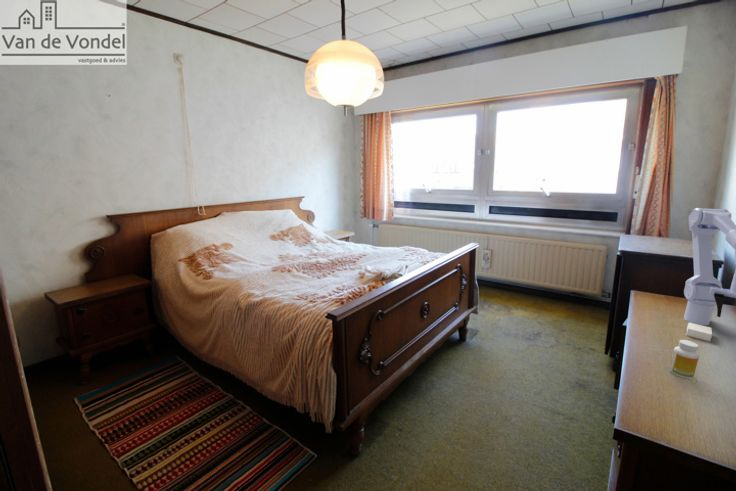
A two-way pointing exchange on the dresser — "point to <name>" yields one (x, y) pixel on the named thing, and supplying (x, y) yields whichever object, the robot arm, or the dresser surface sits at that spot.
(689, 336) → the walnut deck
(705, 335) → the cream tile
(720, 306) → the robot arm
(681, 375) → the supplement bottle
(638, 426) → the dresser surface
